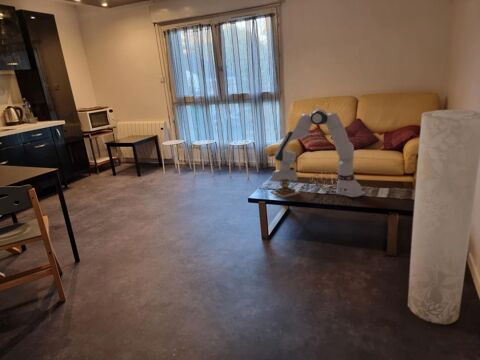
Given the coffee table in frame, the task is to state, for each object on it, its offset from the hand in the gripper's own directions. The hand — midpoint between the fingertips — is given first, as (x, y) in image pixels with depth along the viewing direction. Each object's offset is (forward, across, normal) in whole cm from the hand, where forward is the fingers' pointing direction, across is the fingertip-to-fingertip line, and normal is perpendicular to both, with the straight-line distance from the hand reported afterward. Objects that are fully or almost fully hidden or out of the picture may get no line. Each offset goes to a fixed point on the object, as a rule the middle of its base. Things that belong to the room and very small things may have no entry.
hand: (284, 185), depth 271 cm
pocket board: (+4, 0, +5) cm, 7 cm away
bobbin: (+3, 0, +4) cm, 4 cm away
